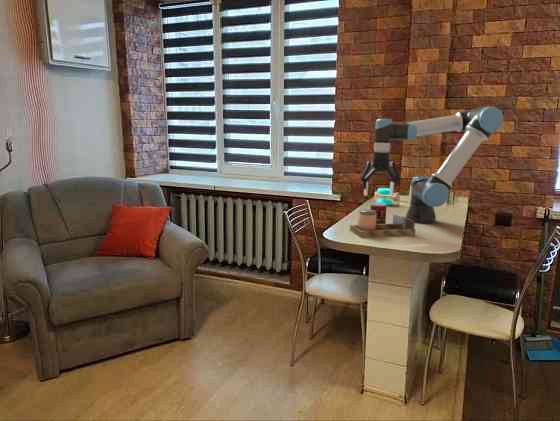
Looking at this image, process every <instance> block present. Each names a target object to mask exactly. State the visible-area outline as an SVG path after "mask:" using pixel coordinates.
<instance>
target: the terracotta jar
mask: <svg viewBox="0 0 560 421" xmlns="http://www.w3.org/2000/svg"><path fill="white" fill-rule="evenodd" d="M376 216H377V214H376V211H375V210H370V209H366V208H365V209H359V211H358V216H357V225H358V229H360V230H361V231H369V230H376Z"/></svg>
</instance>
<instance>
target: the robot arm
mask: <svg viewBox="0 0 560 421" xmlns="http://www.w3.org/2000/svg"><path fill="white" fill-rule="evenodd" d="M503 124H504V114H503V112H502V110H500V109H499V108H497V107H496V106H483V107H476V108H472V109H469V110H465V111H460V112H456V113H454V115H453V114H452V115H447V116H441V117H433V118H427V119H422V120H413V121H407V122H399V123H393V119H391V118H378V119H376V121H375V126H374V127H375V128H374V144H373V151H374V152H373V155H372V156H373V157H372V159H373V160H372V161H369V160H367V161H366V163H365V164H366V165H365V167H364V169H363V171H362V173H361V174H360V177H359V178H358V180H359V181H361V182H362V189H363V196H366V197H368V191H369V190H368V189H369V180H370V179H371V178H372V176H373V175H374V174H375V173H376V172H385V173H386V175H387V176H388V177H389V179H390V180H391V181H389V182H390V183H389V189H390V194H389V195H388V196H391V197H392V196H393V197H394V192H395V189H396V186H397V183H398V182H399V181H401V179H400V175H399V174H398V171H397V168H396V162H395V161H391V162H390V152H391V151H390V150H391V142H392V141H391V140H398V141H399V140H400V141H401V140H403V141H404V140H405V141H413V140H414V141H415V140H416V138H417V137H419V136H426V135H432V134H440V133H446V132H448V133H449V132H454V131H456V132H458V133H460V132H461V133H462V132H464V134H463V135H462V137H461V138H460V140H459V141H458V142H457V144H456V145H455V147H453V149H452V150H451V152H450V154H449V155H448V156H447V157H446V158H445V160H444V162H443V163H442V164H441V165H440V167H439V168H438V170H437V171H436V172H435V173H434V172H433V173H431V174H430V176H414V177H412V180H411V190H410V199H409V200H410V204H409V207H408V209H407V213H406V215H405V217H406V218H408V219H411V220H413V221H415V224H416V223H419V224H432V223H433V224H434V223H436V220H437V216H436V212H435V208H436V207H438V208H439V207H441V206H443V205H444V204H446V202H447V201H448V200H449V197H450V191H451V190H452V188H453V184H452V183H453V181H454V180H455V179H456V177H457V176H458V174H459V173H460V172H461V171H462V169H463V168H464V166H465V165H466V164H467V163H468V161H469V160H470V158H471V157H472V155H473V154H474V153H475V152H476V150H477V149H478V148H479V146H480V145H481V143H482V142H484V141H488V139H489V138H490V137H491V136H492V134H493V133H495V132H497V131H499V130H500V129H501V128H502V127H503ZM389 166H390V168H389ZM371 167H372V168H371ZM370 169H371V170H370ZM390 169H391V171H390ZM369 170H370V171H369Z"/></svg>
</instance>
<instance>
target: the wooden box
mask: <svg viewBox="0 0 560 421" xmlns="http://www.w3.org/2000/svg"><path fill="white" fill-rule="evenodd" d="M401 217H402V218H405V219H406V223H407V226H405V229H397V230H394V229H392V228H393V223H385V224H376V230H369V231H361V230H360V229H358V224H350V225H349V232H351V233H353V234H354V235H356V236H358V237H359V238H369V237H370V238H372V237H376V238H377V237H393V236H395V237H396V236H397V237H398V236H400V237H401V236H416V229H415V225H416V222H415V221H413V220H411V219H408V218H406V216H401Z"/></svg>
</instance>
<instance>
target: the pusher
mask: <svg viewBox="0 0 560 421" xmlns="http://www.w3.org/2000/svg"><path fill="white" fill-rule="evenodd" d="M402 217H403V216H400V215H398V214H393V216H392V224H393V228H392V229H394V230H397V229H405V226H407V223H406V219H405V218H402Z"/></svg>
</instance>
